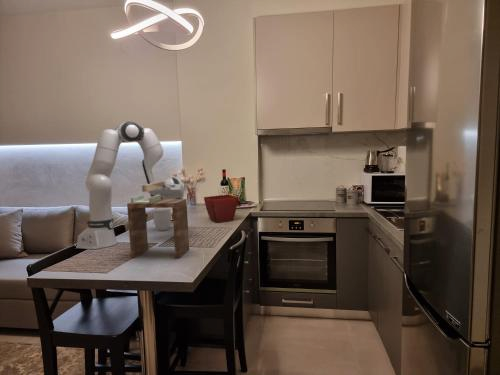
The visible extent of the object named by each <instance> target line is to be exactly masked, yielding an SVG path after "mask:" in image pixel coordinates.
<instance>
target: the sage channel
mask: <svg viewBox="0 0 500 375" xmlns="http://www.w3.org/2000/svg"><path fill="white" fill-rule="evenodd" d="M158 200H161V195H156V196H153V197H151V196H150V197H148V198H145V197H144V194H141V195H137V196H134V197H131V198H130V203H152V202H155V201H158Z"/></svg>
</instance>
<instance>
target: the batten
mask: <svg viewBox="0 0 500 375" xmlns="http://www.w3.org/2000/svg"><path fill="white" fill-rule="evenodd" d="M163 183H166V181H165V180H160V181H156V182H155V183H151V184H148V183H147V184H143V185H141V189H142V190H141V191H142V193H143V192H144V193H145V192H146V193H148V192H149V191H152V190H156V189H159V188H163V187H164V186H163Z"/></svg>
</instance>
